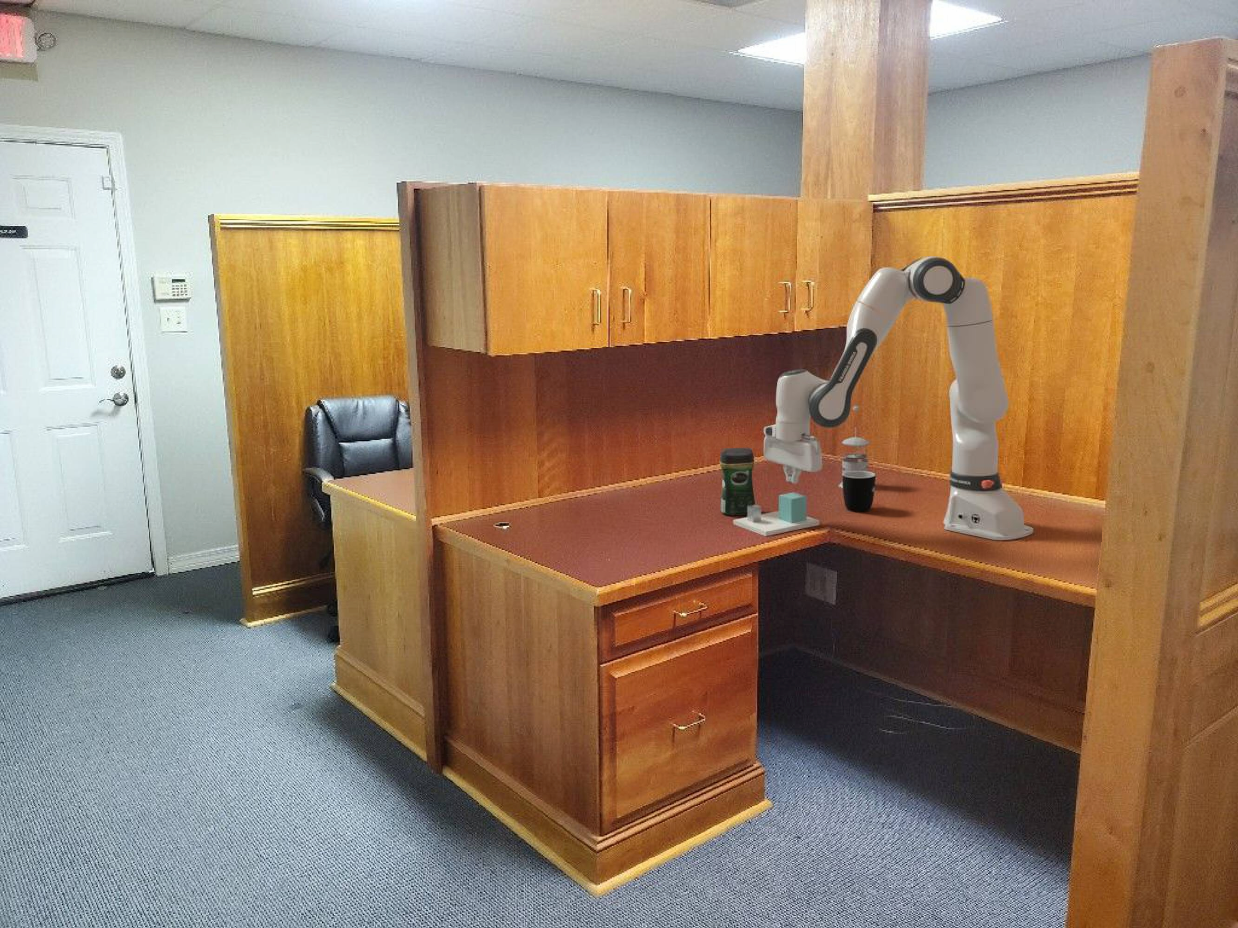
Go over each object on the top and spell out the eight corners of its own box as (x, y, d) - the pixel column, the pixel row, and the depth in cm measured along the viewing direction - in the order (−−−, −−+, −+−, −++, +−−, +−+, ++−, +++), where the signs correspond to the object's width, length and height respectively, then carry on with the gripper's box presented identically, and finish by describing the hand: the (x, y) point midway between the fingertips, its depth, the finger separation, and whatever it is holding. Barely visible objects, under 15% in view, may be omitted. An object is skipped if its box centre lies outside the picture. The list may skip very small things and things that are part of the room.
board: (819, 524, 259) (819, 520, 259) (765, 536, 251) (765, 531, 251) (785, 513, 271) (785, 509, 271) (733, 524, 263) (733, 519, 263)
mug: (877, 513, 269) (878, 477, 267) (844, 513, 269) (844, 478, 267) (869, 502, 280) (870, 468, 278) (838, 502, 281) (838, 468, 279)
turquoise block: (806, 520, 260) (806, 496, 259) (791, 523, 258) (791, 499, 256) (794, 515, 264) (794, 492, 263) (778, 518, 262) (778, 495, 261)
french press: (833, 487, 298) (834, 407, 293) (847, 480, 308) (848, 401, 303) (864, 491, 293) (866, 409, 288) (877, 483, 303) (879, 403, 297)
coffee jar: (751, 508, 278) (751, 444, 275) (757, 515, 271) (757, 450, 267) (718, 509, 278) (717, 446, 274) (723, 517, 270) (722, 451, 266)
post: (761, 521, 261) (761, 506, 260) (753, 522, 259) (753, 508, 258) (755, 518, 263) (755, 504, 262) (747, 520, 262) (747, 506, 261)
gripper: (828, 435, 249) (827, 488, 252) (778, 424, 266) (777, 474, 269) (809, 438, 246) (808, 491, 249) (759, 427, 263) (759, 477, 266)
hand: (792, 482), depth 259 cm, fingers closed
